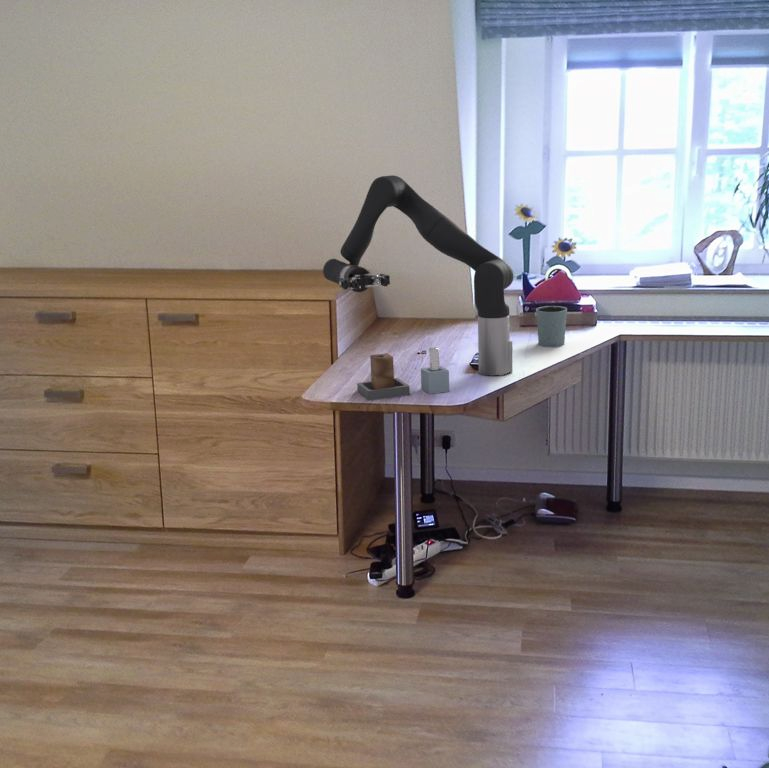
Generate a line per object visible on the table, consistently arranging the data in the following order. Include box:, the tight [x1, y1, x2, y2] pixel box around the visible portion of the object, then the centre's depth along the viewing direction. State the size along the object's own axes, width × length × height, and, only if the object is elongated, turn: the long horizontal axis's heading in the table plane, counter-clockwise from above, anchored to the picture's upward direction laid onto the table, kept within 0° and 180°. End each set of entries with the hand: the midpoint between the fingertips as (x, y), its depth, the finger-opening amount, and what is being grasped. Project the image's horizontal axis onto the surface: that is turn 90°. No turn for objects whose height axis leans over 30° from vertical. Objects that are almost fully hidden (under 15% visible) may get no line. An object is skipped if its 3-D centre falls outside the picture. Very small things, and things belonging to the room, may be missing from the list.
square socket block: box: [420, 365, 450, 395], centre depth 258 cm, size 6×6×6 cm
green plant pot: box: [535, 305, 568, 348], centre depth 306 cm, size 10×10×12 cm
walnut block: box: [369, 352, 395, 390], centre depth 257 cm, size 5×5×10 cm
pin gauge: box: [429, 346, 440, 372], centre depth 257 cm, size 3×3×12 cm
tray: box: [356, 377, 411, 401], centre depth 258 cm, size 12×10×2 cm
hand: (372, 284), depth 264 cm, fingers open, 8 cm apart
